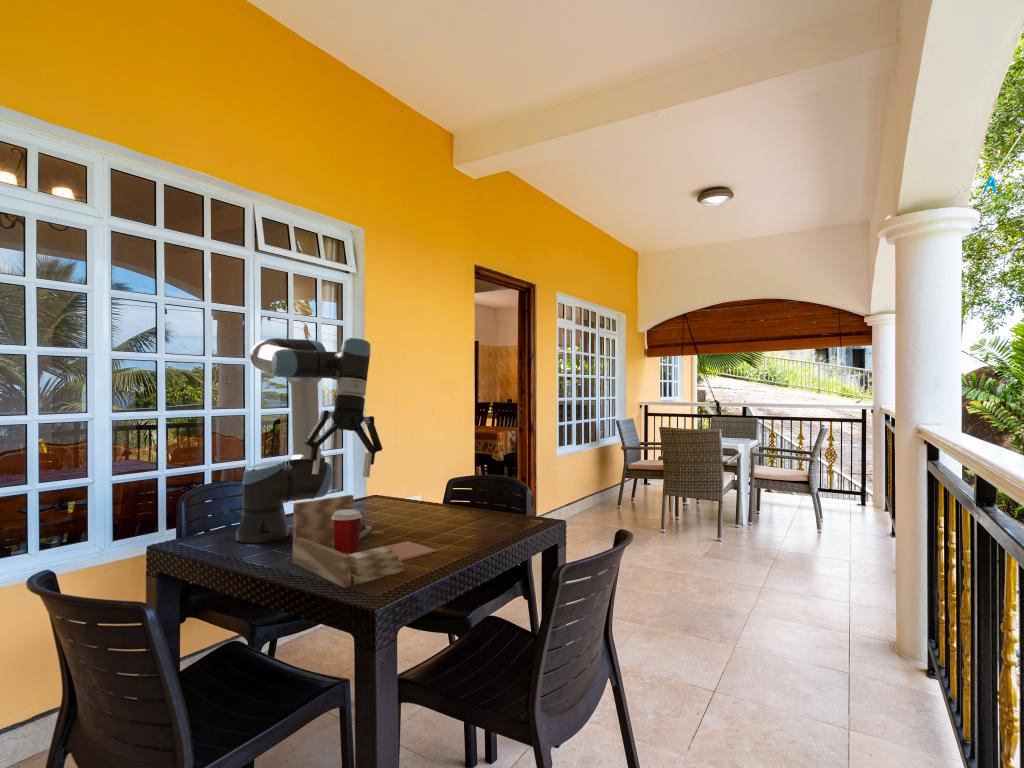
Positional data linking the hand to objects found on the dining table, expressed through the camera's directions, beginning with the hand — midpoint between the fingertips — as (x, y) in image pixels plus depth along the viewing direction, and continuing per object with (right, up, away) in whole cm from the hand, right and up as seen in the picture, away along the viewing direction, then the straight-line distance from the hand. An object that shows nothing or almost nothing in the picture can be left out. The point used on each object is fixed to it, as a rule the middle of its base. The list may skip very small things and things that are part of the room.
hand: (341, 475), depth 142 cm
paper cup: (+1, -24, +2) cm, 24 cm away
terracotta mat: (+13, -24, +14) cm, 31 cm away
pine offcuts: (+10, -24, -7) cm, 27 cm away
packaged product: (-8, -25, +32) cm, 42 cm away
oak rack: (+1, -24, +1) cm, 24 cm away
